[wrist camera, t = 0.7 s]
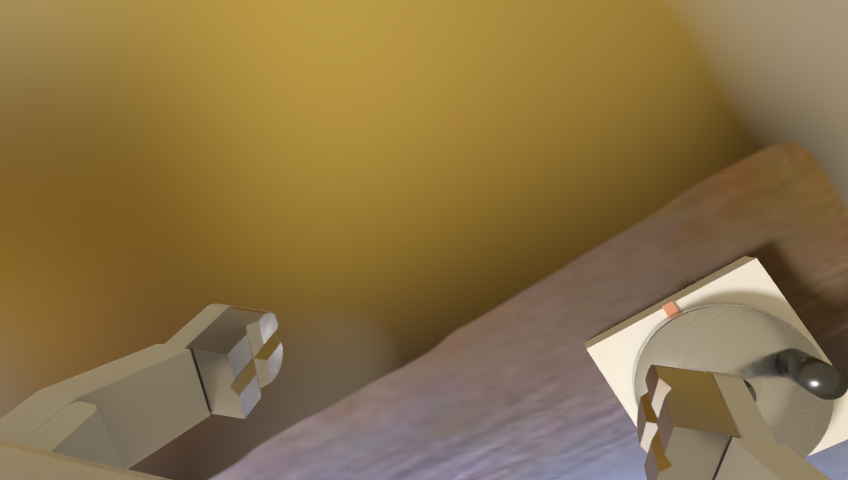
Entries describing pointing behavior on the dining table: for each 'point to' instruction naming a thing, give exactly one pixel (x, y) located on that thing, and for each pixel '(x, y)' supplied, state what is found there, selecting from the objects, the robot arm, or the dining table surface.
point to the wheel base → (726, 285)
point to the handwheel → (751, 366)
